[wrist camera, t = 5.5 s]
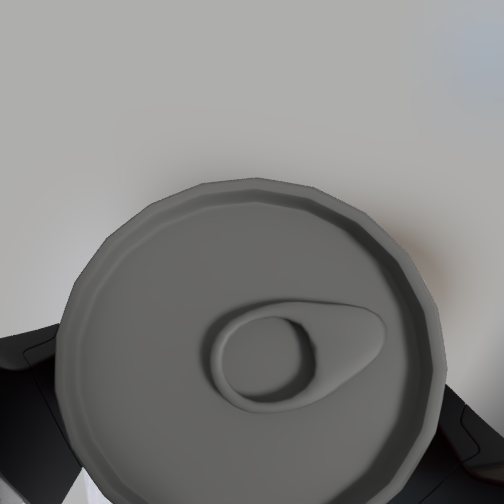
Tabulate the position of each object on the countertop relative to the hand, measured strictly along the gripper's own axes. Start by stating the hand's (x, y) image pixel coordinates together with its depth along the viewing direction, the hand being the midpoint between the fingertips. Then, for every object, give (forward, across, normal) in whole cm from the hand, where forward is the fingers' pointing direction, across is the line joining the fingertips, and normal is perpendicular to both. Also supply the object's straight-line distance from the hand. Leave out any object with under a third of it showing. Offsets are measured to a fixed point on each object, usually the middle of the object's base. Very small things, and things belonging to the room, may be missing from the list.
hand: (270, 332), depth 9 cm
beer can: (+4, 0, +6) cm, 7 cm away
